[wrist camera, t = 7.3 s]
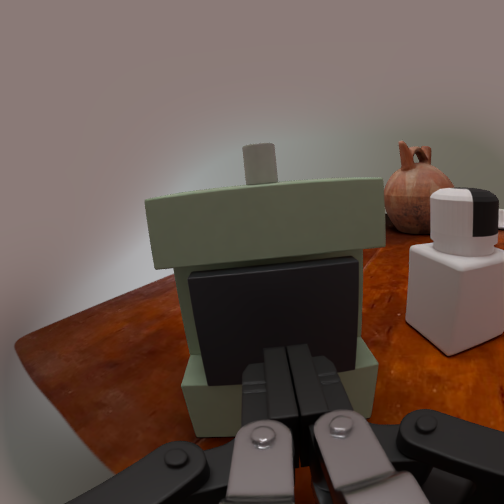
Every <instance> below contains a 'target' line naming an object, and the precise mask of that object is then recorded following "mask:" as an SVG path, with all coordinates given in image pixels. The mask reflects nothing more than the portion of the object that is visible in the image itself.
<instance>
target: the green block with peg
mask: <svg viewBox="0 0 504 504" xmlns="http://www.w3.org/2000/svg"><path fill="white" fill-rule="evenodd" d="M243 158H244V168H245V178H246V185H240V186H231V187H222V188H213V189H205V190H196V191H189V192H182V193H176V194H170V195H165V196H160V197H155V198H150V199H146V200H145V209H146V216H147V223H148V230H149V237H150V244H151V250H152V256H153V262H154V267H155V269H156V270H158V269H169V268H173V269H174V275H175V281H176V286H177V292H178V297H179V303H180V308H181V313H182V318H183V323H184V328H185V333H186V338H187V343H188V347H189V352H190V354H191V355H190V358H189V361H188V365H187V368H186V371H185V375H184V378H183V381H182V384H181V387H182V390H183V394H184V397H185V401H186V404H187V408H188V411H189V415H190V418H191V421H192V424H193V428H194V431H195V434H196V436H197V437H230V436H236V434H237V432H238V431H239V430H240V429H241V411H242V384H241V385H225V386H208V385H207V380H206V376H205V371H204V366H203V362H202V357H201V352H200V347H199V342H198V337H197V332H196V326H195V321H194V316H193V310H192V305H191V299H190V293H189V287H188V281H187V278H188V277H189V275H190V273H191V272H192V271H203V270H214V269H224V268H235V267H245V266H255V265H265V264H275V263H285V262H295V261H304V260H314V259H323V258H333V257H342V256H353V257H354V258H355V259H357V260H358V261H359V309H358V334H357V352H356V366H355V370H351V371H346V372H340V373H337V374H338V375H339V377H340V379H341V382H342V384H343V386H344V388H345V391H346V393H347V395H348V398H349V400H350V402H351V405H352V407H353V409H354V411H355V412H357V413H359V414H361V415H362V416H363V417H364V418H365V419H366V418H370V417H371V412H372V406H373V400H374V393H375V387H376V380H377V372H378V362H377V360H376V359H375V357H374V356H373V354H372V353H371V351H370V350H369V349H368V347H367V346H366V344H365V343H364V341H363V340H362V338H361V337H360V336H361V324H362V296H363V249H369V248H379V247H385V204H384V186H383V178H327V179H311V180H296V181H283V182H278V178H277V168H276V157H275V147H274V144H272V143H259V144H250V145H246V146H243Z"/></svg>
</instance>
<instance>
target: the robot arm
mask: <svg viewBox="0 0 504 504" xmlns="http://www.w3.org/2000/svg"><path fill="white" fill-rule="evenodd" d="M263 352H264V363H254V364H248V366H247V367H246V369H245V370H244V372H243V373H242V411H241V429H240V430H239V431H238V432H237V434H236V437H235V438H234V439H233V440H232V441H230V442H229V443H227V444H225V445H222V446H219V447H216V448H212V449H208V450H204V451H203V450H202V449H201V448H200V447H199V446H198V445H196V444H194V443H191V442H187V441H174V442H169V443H166V444H164V445H162V446H160V447H159V448H157V449H156V450H154V451H153V452H151V453H150V454H148V455H147V456H145V457H144V458H142V459H140V460H139V461H137V462H136V463H134V464H133V465H131V466H129V467H128V468H126V469H125V470H123V471H121V472H120V473H118V474H116V475H115V476H113V477H112V478H110V479H108V480H106V481H105V482H103V483H102V484H100V485H98V486H96V487H94V488H93V489H91V490H89V491H87V492H85V493H84V494H82V495H80V496H78V497H76V498H75V499H72V500H71V501H69V502H67V503H65V504H295V501H294V486H295V468H299V457H300V463H301V467H307V466H310V471H311V476H312V477H311V488H312V491H313V495H314V498H315V502H316V504H504V432H502V431H498V430H495V429H491V428H488V427H484V426H481V425H478V424H475V423H471V422H468V421H465V420H462V419H459V418H456V417H453V416H450V415H447V414H444V413H441V412H438V411H435V410H430V409H420V410H416V411H413V412H411V413H409V414H407V415H406V416H405V417H404V418H403V419H402V421H401V424H398V425H378V424H372V423H369V422H367V420H366V419H365V418H364V417H363V416H362V415H361V414H359V413H357V412H355V411H354V409H353V407H352V405H351V402H350V400H349V398H348V395H347V393H346V391H345V388H344V386H343V384H342V382H341V379H340V377H339V375H338V374H337V370H336V368H335V365H334V363H333V362H332V361H330V360H329V359H328V358H327V357H325V356H324V355H322V356H315V357H312V356H311V353H310V350H309V347H308V345H307V343H306V344H298V345H290V346H286V352H285V347H284V346H282V347H272V348H263Z"/></svg>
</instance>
